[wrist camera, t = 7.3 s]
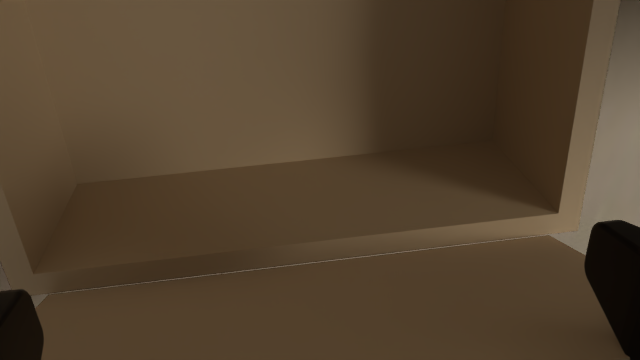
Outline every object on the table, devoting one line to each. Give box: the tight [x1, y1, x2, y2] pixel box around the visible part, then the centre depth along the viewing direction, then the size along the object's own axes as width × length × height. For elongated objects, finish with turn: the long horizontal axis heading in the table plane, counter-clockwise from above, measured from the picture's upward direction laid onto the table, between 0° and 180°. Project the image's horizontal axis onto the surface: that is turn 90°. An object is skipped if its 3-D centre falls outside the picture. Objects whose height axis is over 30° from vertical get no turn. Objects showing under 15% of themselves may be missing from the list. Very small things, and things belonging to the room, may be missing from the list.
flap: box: [35, 235, 630, 360], centre depth 12 cm, size 12×6×1 cm
